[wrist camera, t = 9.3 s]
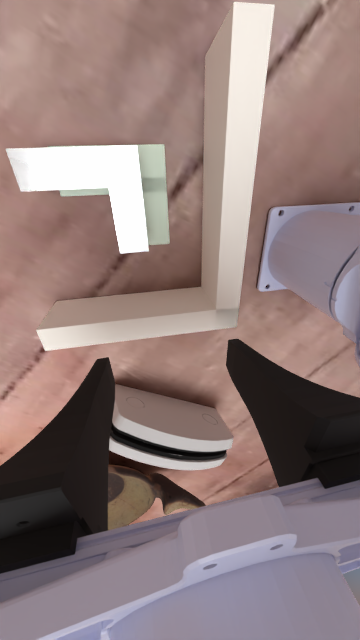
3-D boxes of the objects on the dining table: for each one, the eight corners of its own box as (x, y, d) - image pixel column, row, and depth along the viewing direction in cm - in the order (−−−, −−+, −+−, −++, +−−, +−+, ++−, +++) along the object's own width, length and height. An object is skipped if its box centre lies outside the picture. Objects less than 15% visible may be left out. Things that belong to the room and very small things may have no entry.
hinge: (93, 408, 29) (89, 473, 20) (107, 375, 29) (109, 426, 20) (199, 429, 35) (233, 485, 26) (211, 402, 35) (250, 450, 26)
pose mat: (163, 144, 16) (164, 144, 16) (169, 243, 20) (169, 243, 20) (48, 146, 15) (47, 146, 15) (76, 249, 19) (75, 250, 19)
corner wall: (234, 56, 15) (274, 4, 10) (219, 302, 24) (236, 327, 20) (-35, 47, 13) (-121, -22, 8) (62, 319, 22) (45, 350, 18)
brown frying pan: (-5, 438, 29) (-46, 511, 23) (204, 442, 38) (218, 495, 31) (4, 515, 39) (-22, 581, 33) (168, 504, 48) (173, 554, 41)
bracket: (61, 246, 18) (45, 259, 15) (34, 156, 15) (5, 148, 12) (146, 239, 19) (148, 251, 16) (136, 153, 16) (136, 145, 13)
